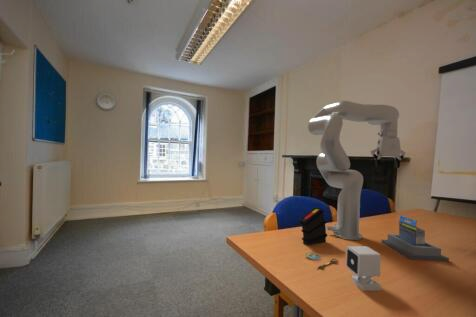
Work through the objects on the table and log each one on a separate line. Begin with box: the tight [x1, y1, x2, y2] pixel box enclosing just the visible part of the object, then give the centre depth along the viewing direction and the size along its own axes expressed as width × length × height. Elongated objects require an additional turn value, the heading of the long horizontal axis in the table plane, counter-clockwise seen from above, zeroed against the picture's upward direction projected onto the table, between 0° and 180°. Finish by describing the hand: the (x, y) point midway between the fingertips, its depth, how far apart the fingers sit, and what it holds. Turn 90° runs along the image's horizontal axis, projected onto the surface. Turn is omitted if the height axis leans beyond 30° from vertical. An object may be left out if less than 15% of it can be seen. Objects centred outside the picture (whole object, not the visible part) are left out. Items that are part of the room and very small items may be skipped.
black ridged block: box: [298, 206, 328, 247], centre depth 95 cm, size 4×13×15 cm, turn 118°
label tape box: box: [398, 215, 426, 246], centre depth 90 cm, size 9×4×12 cm, turn 3°
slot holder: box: [381, 233, 450, 262], centre depth 90 cm, size 14×17×4 cm
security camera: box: [345, 245, 382, 292], centre depth 63 cm, size 6×7×10 cm
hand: (387, 167), depth 117 cm, fingers open, 9 cm apart
